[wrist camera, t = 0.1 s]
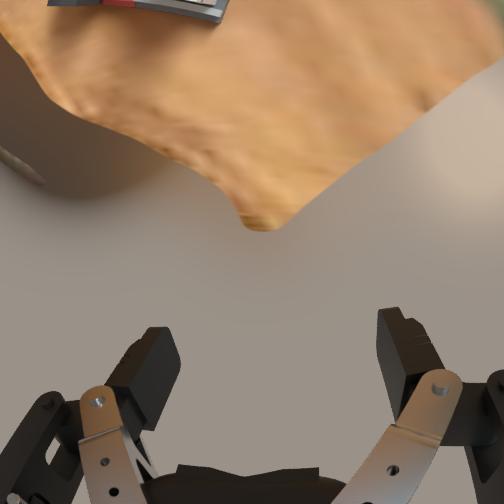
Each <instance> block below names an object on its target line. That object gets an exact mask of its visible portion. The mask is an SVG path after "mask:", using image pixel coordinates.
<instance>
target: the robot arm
mask: <svg viewBox="0 0 504 504" xmlns="http://www.w3.org/2000/svg"><path fill="white" fill-rule="evenodd" d="M376 348H377V357H378V361H379V364H380V368H381V371H382V374H383V378H384V382H385V385H386V389H387V392H388V396H389V400H390V404H391V408H392V411H393V415H394V419H395V424H391V425H390V426H389V427H388V428H387V429H386V431H385V432H384V434H383V435H382V437H381V438H380V440H379V441H378V443H377V444H376V446H375V447H374V449H373V450H372V451H371V453H370V454H369V456H368V457H367V458H366V460H365V461H364V463H363V464H362V465H361V467H360V468H359V469H358V471H357V472H356V473H355V475H354V476H353V477H352V478H351V480H350V481H349V482H348V483H347V484H346V483H344V482H341V481H338V480H336V479H331V478H327V477H321V476H319V467H317V468H302V469H282V470H278V471H273V472H268V473H263V474H258V475H253V476H247V477H243V476H238V475H234V474H231V473H227V472H223V471H220V470H217V469H214V468H210V467H199V466H190V465H181V464H179V465H178V467H177V470H176V473H173V474H167V475H163V476H160V477H159V476H158V474H157V472H156V470H155V468H154V465H153V463H152V461H151V458H150V456H149V454H148V451H147V449H146V447H145V444H144V441H143V439H142V437H141V436H140V433H141V431H142V430H149V431H154V430H155V427H156V425H157V422H158V420H159V418H160V415H161V413H162V411H163V408H164V406H165V404H166V402H167V399H168V397H169V395H170V392H171V390H172V387H173V385H174V383H175V381H176V379H177V376H178V374H179V371H180V367H181V363H180V357H179V354H178V351H177V348H176V346H175V343H174V340H173V337H172V334H171V332H170V330H169V328H168V327H149V328H148V329H147V330H146V332H145V334H144V335H143V336H142V338H141V339H138V340H137V341H136V342H135V343H133V344H132V345H131V346H130V347H129V348H128V350H127V351H126V353H125V354H124V357H122V359H121V360H120V363H119V364H118V365H117V366H116V368H115V369H114V371H113V372H112V374H111V375H110V377H109V378H108V380H107V382H106V383H105V384H104V385H101V386H96V387H93V388H91V389H89V390H87V391H86V392H85V393H84V394H83V395H82V397H81V399H80V400H74V401H65V399H64V398H63V396H62V395H61V394H60V393H59V392H56V391H51V392H47V393H45V394H43V395H41V396H40V397H39V398H38V399H37V400H36V401H35V403H34V404H33V406H32V407H31V409H30V410H29V412H28V413H27V415H26V416H25V417H24V419H23V420H22V422H21V423H20V425H19V426H18V428H17V430H16V431H15V433H14V434H13V436H12V437H11V439H10V440H9V442H8V443H7V445H6V446H5V448H4V450H3V451H2V453H1V454H0V504H71V503H72V501H73V499H74V496H75V494H76V492H77V489H78V487H79V485H80V482H81V480H82V478H83V476H85V481H86V486H87V490H88V494H89V498H90V502H91V504H408V503H409V501H410V499H411V498H412V496H413V495H414V493H415V491H416V489H417V488H418V486H419V484H420V482H421V480H422V479H423V477H424V475H425V473H426V471H427V470H428V468H429V466H430V464H431V462H432V460H433V458H434V456H435V454H436V452H437V450H438V448H439V446H464V449H465V452H466V456H467V459H468V463H469V467H470V471H471V475H472V480H473V484H474V488H475V493H476V498H477V502H478V504H504V370H498V371H495V372H494V373H492V374H491V375H490V376H489V378H488V380H487V383H465V382H462V381H461V379H460V378H459V376H458V375H457V374H455V373H453V372H452V371H449V370H446V369H445V367H444V365H443V363H442V361H441V359H440V357H439V355H438V354H437V352H436V350H435V348H434V346H433V344H432V343H431V340H430V338H429V336H427V333H426V331H425V329H424V327H423V325H422V324H420V323H419V322H418V321H416V320H415V319H413V318H409V319H405V318H404V316H403V314H402V312H401V310H400V309H399V307H393V308H385V309H379V310H378V321H377V340H376ZM54 437H55V438H56V440H57V441H58V442H59V443H60V446H59V448H58V450H57V452H56V454H55V456H54V458H53V459H52V461H51V463H50V465H48V463H47V462H46V459H45V454H46V451H47V449H48V447H49V446H50V444H51V442H52V440H53V439H54Z"/></svg>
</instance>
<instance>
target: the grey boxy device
mask: <svg viewBox="0 0 504 504" xmlns="http://www.w3.org/2000/svg"><path fill="white" fill-rule="evenodd" d="M228 3H229V0H217V2H216V4H215V5H211V4H205V3H197V2H192V1H187V0H48V4H47V6H84V5H97V4H106V5H117V6H127V7H136V8H144V9H151V10H157V11H163V12H169V13H174V14H179V15H184V16H189V17H194V18H198V19H203V20H207V21H211V22H215V23H221V21H222V18H223V16H224V13H225V10H226V8H227V5H228Z"/></svg>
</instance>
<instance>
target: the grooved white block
mask: <svg viewBox="0 0 504 504" xmlns="http://www.w3.org/2000/svg"><path fill="white" fill-rule="evenodd" d="M187 1H192V2H197V3H205V4H211V5H215V4H216V2H217V0H187Z"/></svg>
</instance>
